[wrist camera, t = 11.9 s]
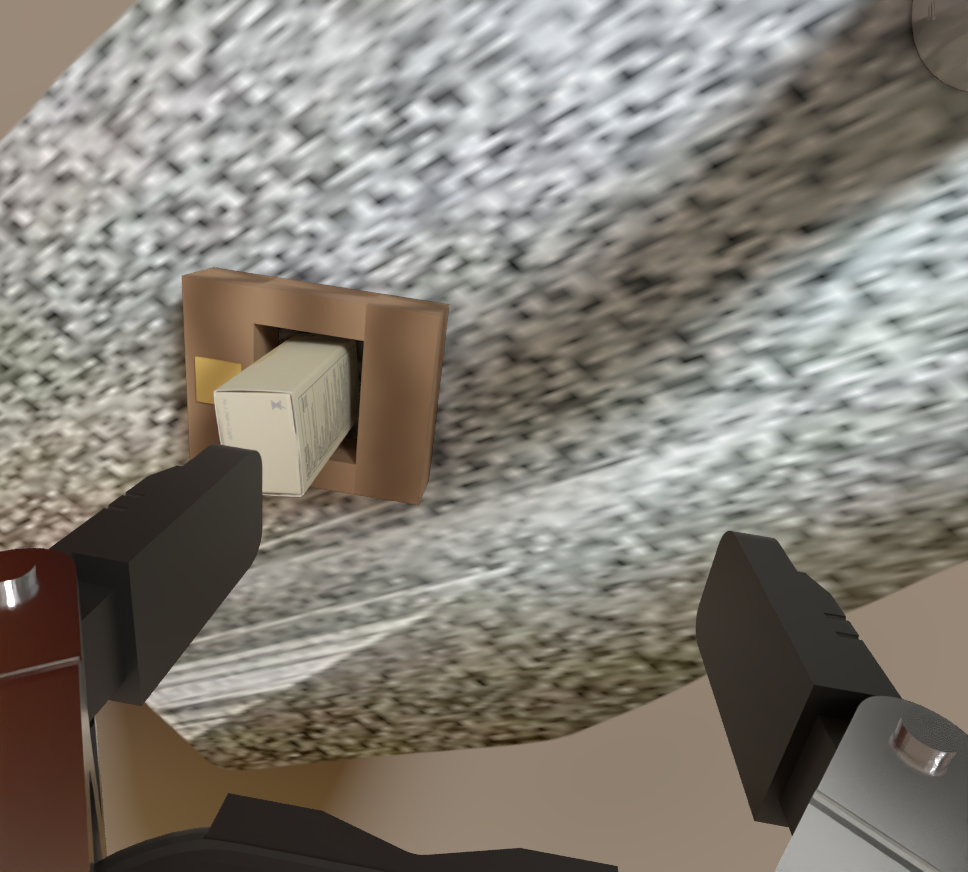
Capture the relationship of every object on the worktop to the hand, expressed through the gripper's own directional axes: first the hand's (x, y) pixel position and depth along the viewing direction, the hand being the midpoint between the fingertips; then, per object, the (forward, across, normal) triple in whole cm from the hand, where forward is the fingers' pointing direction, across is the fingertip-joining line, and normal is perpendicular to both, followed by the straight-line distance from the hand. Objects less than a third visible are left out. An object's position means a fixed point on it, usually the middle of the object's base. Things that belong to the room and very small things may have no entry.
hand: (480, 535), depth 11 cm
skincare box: (+32, +13, +9) cm, 36 cm away
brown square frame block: (+32, +13, +9) cm, 36 cm away
